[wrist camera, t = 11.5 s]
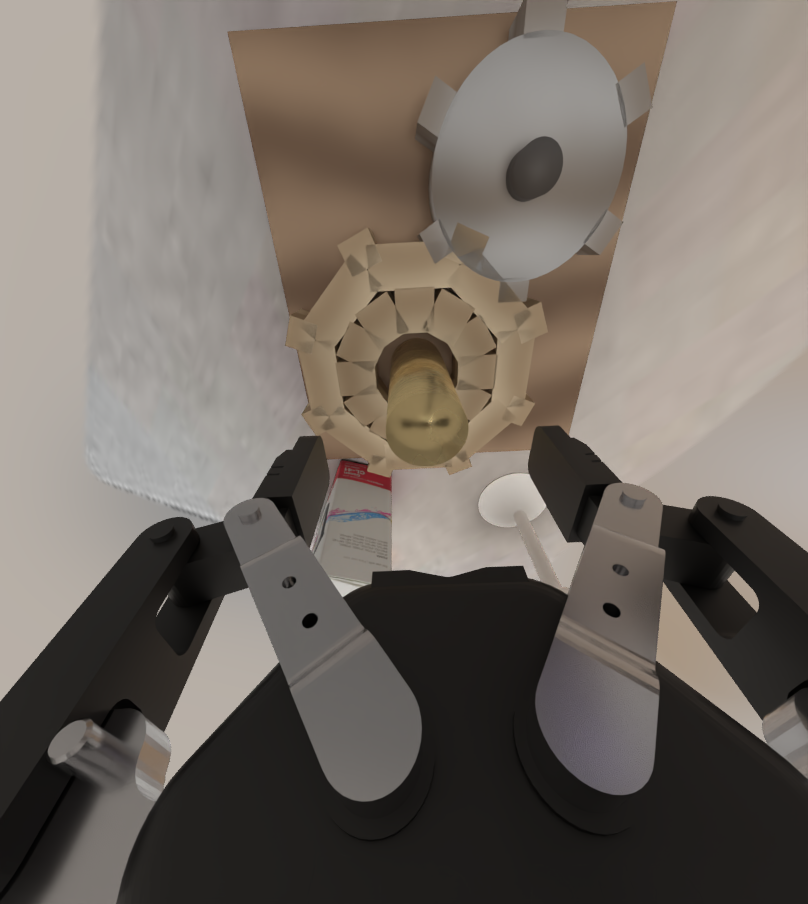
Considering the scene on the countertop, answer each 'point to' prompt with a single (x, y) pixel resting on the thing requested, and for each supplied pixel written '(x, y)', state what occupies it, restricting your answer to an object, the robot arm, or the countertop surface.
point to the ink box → (355, 528)
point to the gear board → (382, 174)
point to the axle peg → (423, 406)
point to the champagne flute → (519, 517)
